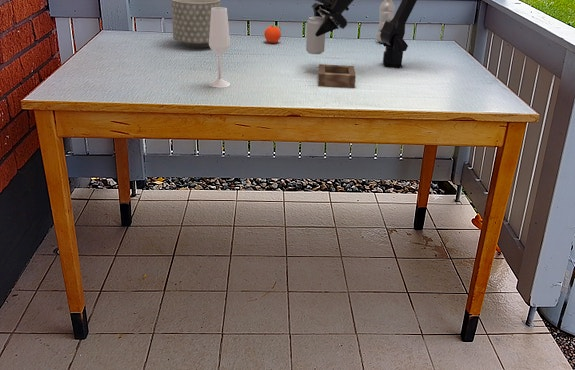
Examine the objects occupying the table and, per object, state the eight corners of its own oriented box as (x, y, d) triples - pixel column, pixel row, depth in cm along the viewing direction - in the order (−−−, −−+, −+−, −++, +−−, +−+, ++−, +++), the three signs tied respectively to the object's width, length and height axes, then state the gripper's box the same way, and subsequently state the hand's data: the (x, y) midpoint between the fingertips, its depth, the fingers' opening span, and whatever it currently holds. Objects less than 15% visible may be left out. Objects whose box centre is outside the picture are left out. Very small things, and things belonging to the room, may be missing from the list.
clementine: (275, 39, 245) (275, 22, 242) (285, 43, 241) (286, 25, 237) (260, 42, 240) (261, 24, 237) (271, 45, 236) (272, 28, 232)
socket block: (352, 77, 199) (353, 66, 198) (354, 87, 189) (355, 75, 187) (318, 75, 200) (319, 64, 198) (318, 85, 189) (319, 74, 187)
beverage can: (324, 51, 204) (326, 16, 199) (323, 55, 198) (325, 19, 193) (306, 50, 205) (308, 15, 199) (305, 54, 199) (306, 18, 194)
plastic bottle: (392, 44, 245) (398, -4, 236) (376, 44, 245) (381, -5, 236) (390, 41, 251) (395, -7, 241) (374, 40, 251) (379, -7, 241)
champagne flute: (211, 80, 189) (209, 6, 178) (231, 81, 189) (231, 7, 178) (208, 86, 183) (206, 10, 172) (229, 87, 183) (228, 11, 172)
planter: (196, 37, 243) (195, -8, 235) (230, 45, 233) (230, -1, 225) (163, 45, 229) (160, -2, 221) (198, 53, 220) (196, 4, 211)
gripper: (318, -22, 200) (287, 12, 201) (341, -14, 185) (308, 23, 186) (336, 1, 206) (307, 33, 208) (361, 10, 191) (328, 46, 192)
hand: (312, 33), depth 198 cm, fingers closed on beverage can, 6 cm apart
